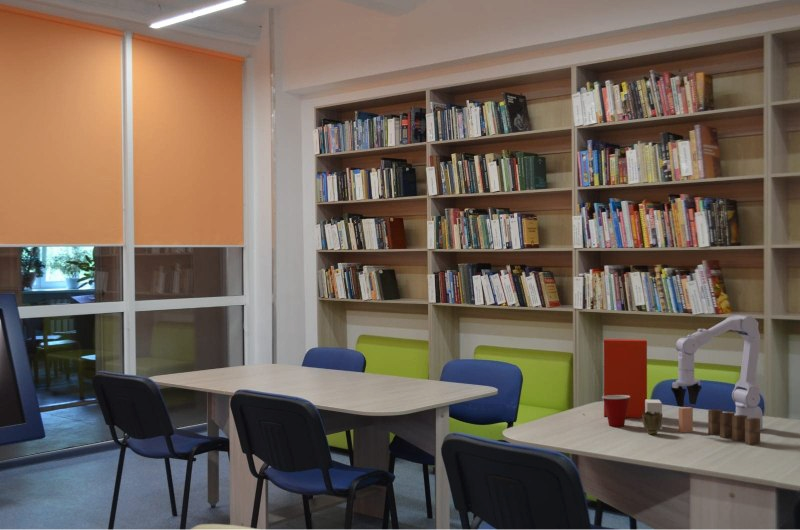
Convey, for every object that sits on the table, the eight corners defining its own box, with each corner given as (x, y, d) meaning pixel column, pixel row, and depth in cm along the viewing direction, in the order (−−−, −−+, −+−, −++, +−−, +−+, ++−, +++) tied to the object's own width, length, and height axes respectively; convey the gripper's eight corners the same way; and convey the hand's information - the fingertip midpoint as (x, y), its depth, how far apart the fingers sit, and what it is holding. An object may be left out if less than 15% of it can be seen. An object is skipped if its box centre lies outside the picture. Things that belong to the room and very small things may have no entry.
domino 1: (689, 430, 311) (689, 406, 311) (692, 431, 309) (692, 407, 309) (678, 431, 309) (678, 407, 309) (682, 432, 307) (682, 408, 307)
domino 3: (730, 436, 301) (730, 411, 301) (734, 437, 299) (734, 412, 299) (720, 437, 299) (720, 412, 299) (724, 438, 297) (724, 413, 297)
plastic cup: (615, 421, 328) (615, 392, 327) (636, 426, 318) (636, 396, 318) (596, 424, 322) (596, 394, 322) (616, 429, 313) (616, 398, 312)
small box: (662, 430, 311) (662, 403, 311) (647, 429, 312) (647, 402, 312) (659, 426, 319) (659, 399, 319) (645, 425, 320) (645, 399, 320)
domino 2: (718, 432, 306) (718, 409, 306) (722, 433, 304) (722, 410, 304) (708, 433, 304) (708, 410, 304) (712, 435, 302) (712, 411, 302)
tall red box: (604, 413, 346) (604, 338, 346) (646, 415, 342) (646, 339, 341) (604, 416, 338) (603, 340, 338) (647, 418, 334) (646, 341, 334)
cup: (663, 432, 306) (663, 411, 306) (661, 436, 300) (661, 415, 299) (643, 431, 309) (643, 410, 309) (640, 435, 303) (640, 413, 303)
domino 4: (742, 439, 295) (742, 414, 295) (747, 440, 293) (747, 415, 293) (732, 440, 293) (732, 415, 293) (736, 441, 291) (736, 416, 291)
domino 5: (755, 442, 290) (755, 417, 289) (760, 443, 288) (760, 418, 288) (745, 444, 288) (745, 418, 288) (749, 445, 286) (749, 419, 286)
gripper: (688, 366, 315) (689, 401, 315) (665, 370, 307) (665, 405, 307) (704, 368, 309) (705, 404, 309) (681, 372, 301) (681, 408, 301)
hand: (686, 405), depth 308 cm, fingers open, 7 cm apart
